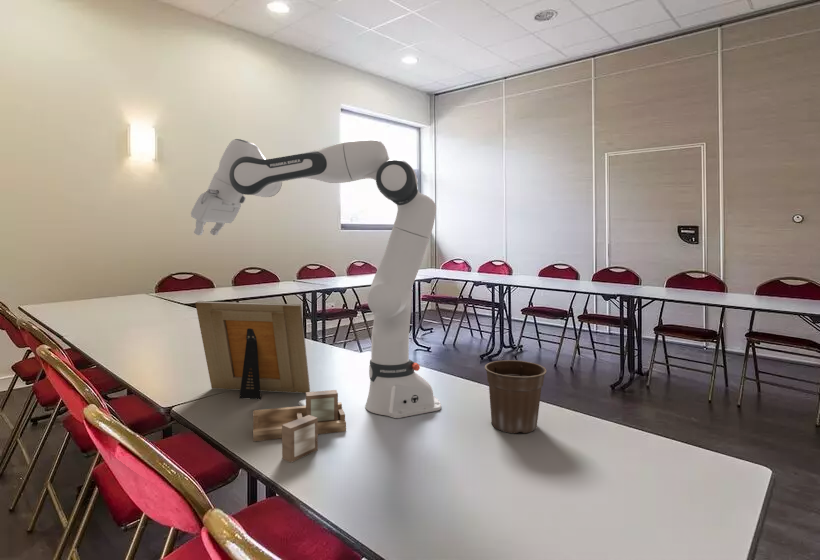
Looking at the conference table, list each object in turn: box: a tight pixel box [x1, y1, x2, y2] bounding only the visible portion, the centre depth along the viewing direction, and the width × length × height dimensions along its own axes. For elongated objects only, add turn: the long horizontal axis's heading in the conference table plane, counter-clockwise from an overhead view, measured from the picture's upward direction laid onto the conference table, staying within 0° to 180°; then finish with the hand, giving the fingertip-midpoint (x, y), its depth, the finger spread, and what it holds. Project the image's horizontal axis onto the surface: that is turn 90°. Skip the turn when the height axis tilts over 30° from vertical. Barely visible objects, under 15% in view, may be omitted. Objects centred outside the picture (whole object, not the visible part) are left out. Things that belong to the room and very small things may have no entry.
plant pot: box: [484, 359, 547, 434], centre depth 131 cm, size 16×16×16 cm
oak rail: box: [252, 401, 347, 442], centre depth 126 cm, size 23×8×5 cm, turn 108°
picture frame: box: [194, 300, 311, 400], centre depth 151 cm, size 33×10×30 cm, turn 84°
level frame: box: [305, 389, 339, 423], centre depth 127 cm, size 8×3×8 cm, turn 108°
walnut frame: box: [281, 415, 319, 463], centre depth 112 cm, size 8×3×8 cm, turn 142°
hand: (205, 234), depth 142 cm, fingers open, 8 cm apart
